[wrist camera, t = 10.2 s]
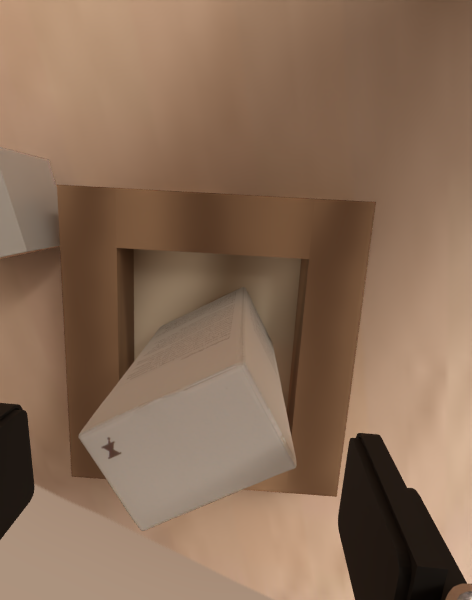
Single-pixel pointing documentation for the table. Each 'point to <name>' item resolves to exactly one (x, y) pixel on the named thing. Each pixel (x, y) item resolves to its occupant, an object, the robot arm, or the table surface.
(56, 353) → the table surface
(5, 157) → the grey cube
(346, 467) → the robot arm
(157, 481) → the skincare box
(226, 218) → the socket block
